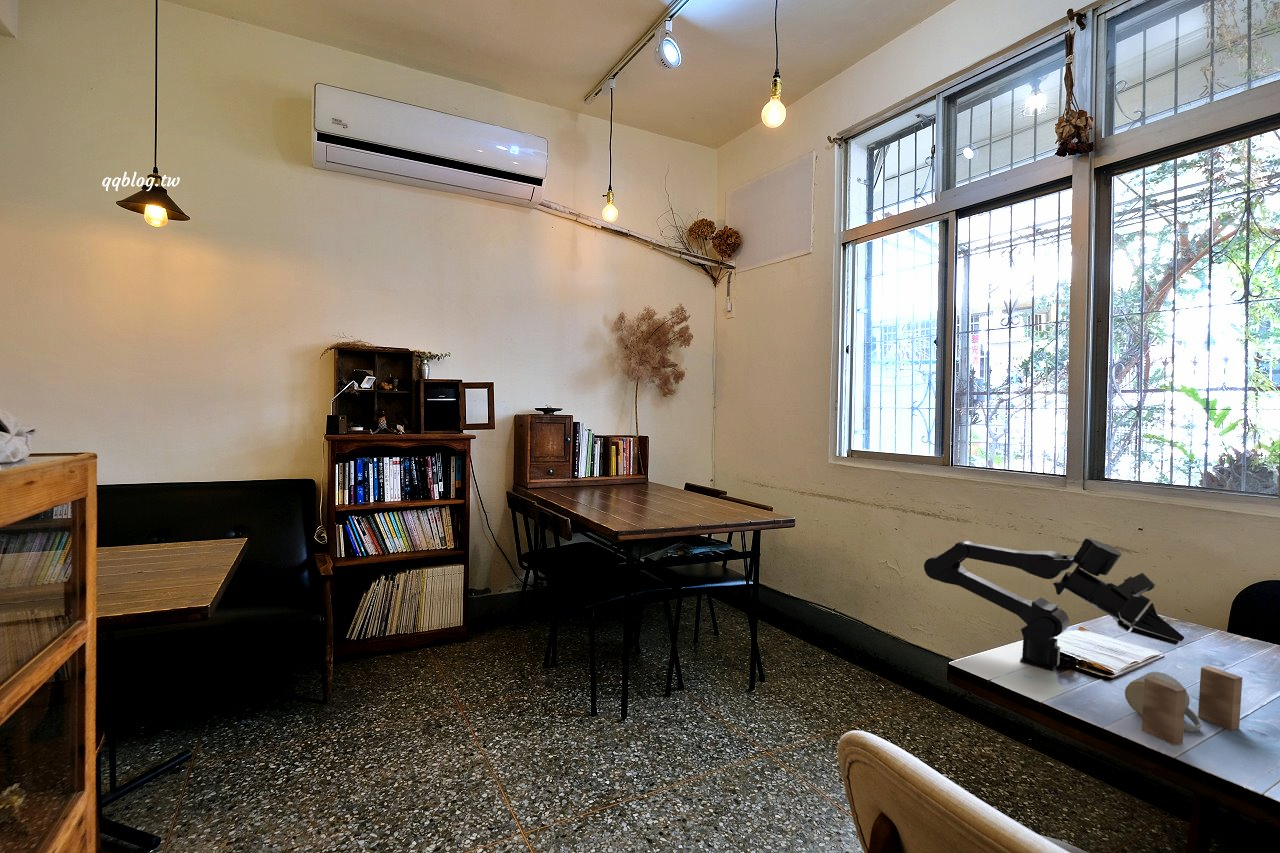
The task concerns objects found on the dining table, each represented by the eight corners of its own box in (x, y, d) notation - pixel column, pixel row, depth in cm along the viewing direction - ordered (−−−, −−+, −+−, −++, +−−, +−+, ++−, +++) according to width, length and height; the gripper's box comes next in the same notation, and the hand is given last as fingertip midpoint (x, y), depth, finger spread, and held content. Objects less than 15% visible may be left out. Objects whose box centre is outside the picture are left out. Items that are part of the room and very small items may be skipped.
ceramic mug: (1120, 709, 113) (1123, 672, 113) (1140, 701, 117) (1143, 665, 116) (1189, 738, 104) (1192, 698, 103) (1209, 728, 107) (1212, 689, 107)
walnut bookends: (1141, 730, 106) (1144, 678, 105) (1205, 715, 112) (1208, 665, 112) (1173, 745, 101) (1177, 691, 101) (1239, 728, 107) (1242, 677, 107)
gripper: (1119, 555, 119) (1212, 604, 108) (1116, 570, 132) (1198, 615, 121) (1086, 596, 119) (1175, 650, 109) (1086, 607, 133) (1166, 656, 122)
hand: (1180, 641), depth 115 cm, fingers open, 9 cm apart
